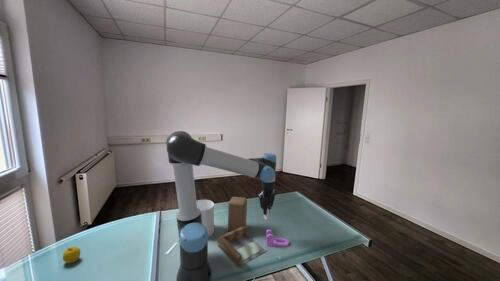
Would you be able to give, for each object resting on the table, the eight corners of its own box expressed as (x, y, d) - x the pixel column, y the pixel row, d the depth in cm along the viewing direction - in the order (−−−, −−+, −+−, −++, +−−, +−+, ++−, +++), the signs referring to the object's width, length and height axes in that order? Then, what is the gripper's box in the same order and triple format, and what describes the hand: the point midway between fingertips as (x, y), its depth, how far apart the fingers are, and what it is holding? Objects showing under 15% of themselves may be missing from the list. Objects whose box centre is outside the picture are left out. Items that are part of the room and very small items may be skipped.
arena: (238, 268, 94) (238, 257, 93) (218, 246, 108) (218, 236, 107) (266, 251, 105) (266, 241, 105) (245, 234, 120) (245, 225, 119)
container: (188, 228, 124) (187, 202, 122) (210, 223, 131) (210, 197, 128) (193, 242, 112) (192, 212, 109) (217, 235, 118) (217, 207, 116)
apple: (61, 263, 94) (59, 248, 92) (78, 255, 99) (77, 241, 98) (65, 269, 90) (63, 253, 89) (83, 260, 95) (81, 246, 94)
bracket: (266, 246, 110) (267, 235, 109) (265, 240, 115) (266, 229, 114) (289, 247, 110) (290, 235, 109) (287, 240, 115) (288, 229, 114)
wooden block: (243, 235, 119) (243, 204, 116) (227, 232, 121) (227, 202, 118) (246, 225, 129) (247, 197, 126) (232, 223, 131) (232, 195, 128)
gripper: (264, 184, 104) (262, 225, 107) (281, 180, 112) (278, 218, 115) (255, 180, 109) (253, 219, 113) (271, 176, 118) (269, 213, 121)
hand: (266, 218), depth 114 cm, fingers closed
